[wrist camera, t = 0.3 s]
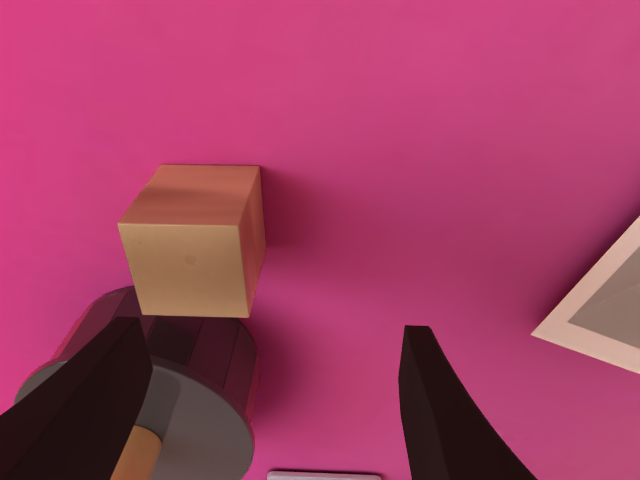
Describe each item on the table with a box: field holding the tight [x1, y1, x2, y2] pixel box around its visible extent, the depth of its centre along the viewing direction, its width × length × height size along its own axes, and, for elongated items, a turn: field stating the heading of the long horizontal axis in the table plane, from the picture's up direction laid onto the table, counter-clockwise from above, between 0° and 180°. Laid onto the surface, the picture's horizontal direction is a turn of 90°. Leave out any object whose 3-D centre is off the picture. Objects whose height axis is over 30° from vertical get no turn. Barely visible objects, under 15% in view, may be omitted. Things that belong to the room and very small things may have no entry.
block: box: [117, 164, 266, 318], centre depth 21 cm, size 4×4×5 cm
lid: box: [14, 352, 255, 480], centre depth 23 cm, size 12×12×4 cm
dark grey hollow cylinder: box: [50, 286, 260, 423], centre depth 26 cm, size 11×11×5 cm
